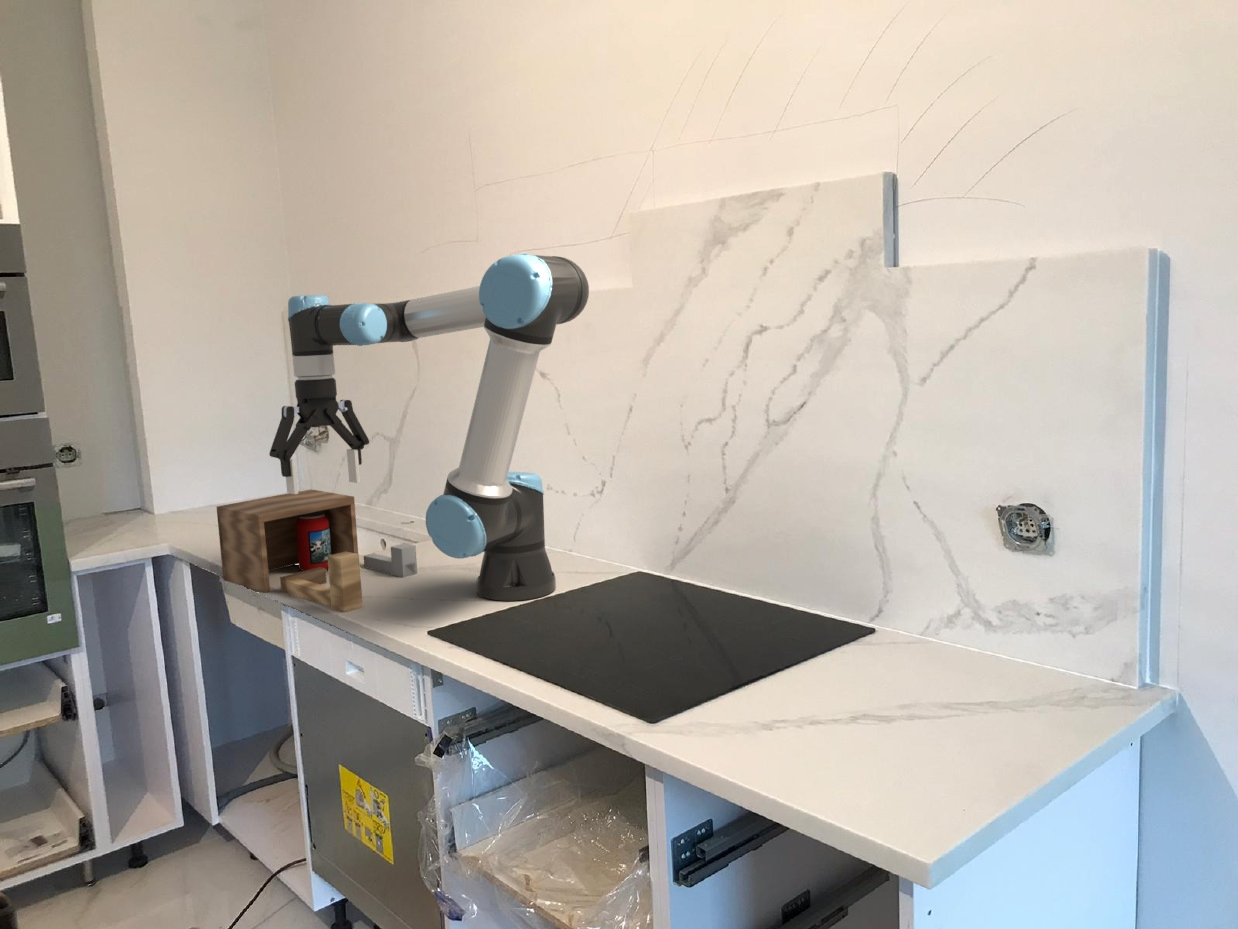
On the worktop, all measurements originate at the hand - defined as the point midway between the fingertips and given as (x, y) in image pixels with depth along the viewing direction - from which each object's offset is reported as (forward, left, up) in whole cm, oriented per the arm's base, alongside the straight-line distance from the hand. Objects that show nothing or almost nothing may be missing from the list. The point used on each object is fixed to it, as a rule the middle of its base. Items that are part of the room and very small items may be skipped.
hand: (324, 487), depth 193 cm
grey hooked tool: (+3, -16, -21) cm, 26 cm away
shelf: (+18, -2, -21) cm, 27 cm away
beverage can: (+17, -7, -21) cm, 28 cm away
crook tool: (-3, +2, -20) cm, 21 cm away
